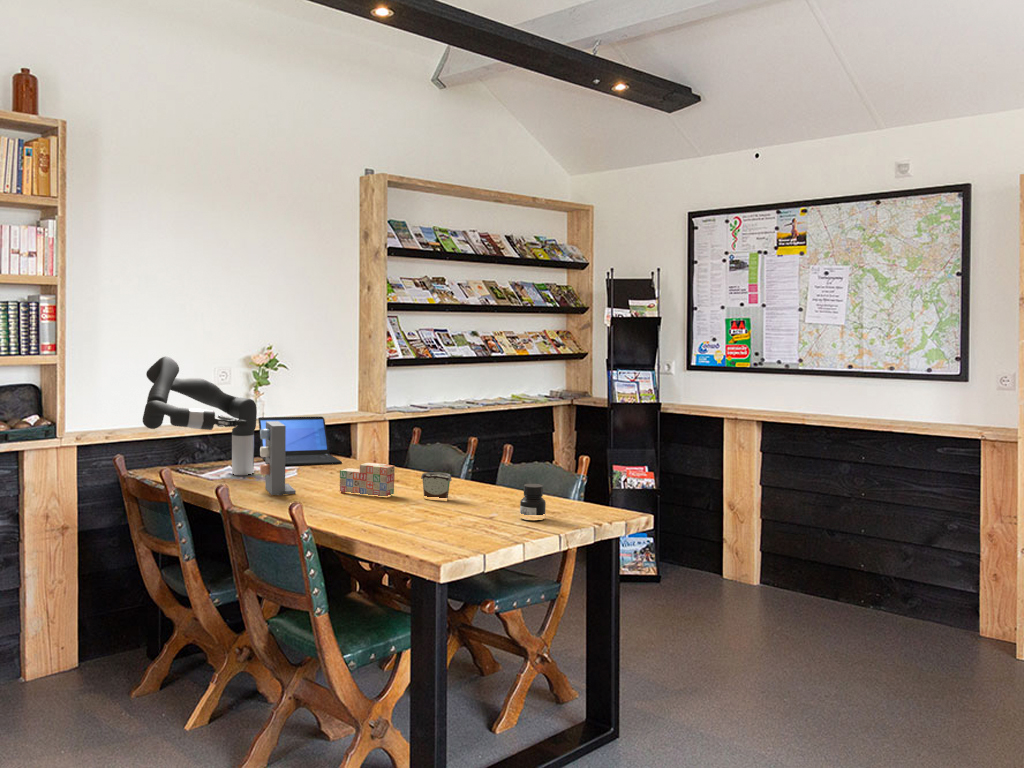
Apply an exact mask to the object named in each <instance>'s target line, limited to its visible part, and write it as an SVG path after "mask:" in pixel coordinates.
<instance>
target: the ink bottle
mask: <svg viewBox="0 0 1024 768" xmlns="http://www.w3.org/2000/svg"><path fill="white" fill-rule="evenodd" d="M523 496H524V497H522V499H520V502H519V503H520V504H519V514H520V513H521V514H524V515H543V514H545V515H546V508H547V507H546V506H547V505H546V500H545V499H544V497H543V496H544V485H543V484H540V483H539V484H538V483H525V484H524V485H523Z"/></svg>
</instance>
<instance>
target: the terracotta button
mask: <svg viewBox="0 0 1024 768" xmlns="http://www.w3.org/2000/svg"><path fill="white" fill-rule="evenodd" d="M268 474H270V464H265V463H264V464H260V465H259V475H261V476H262V475H263V476H265V475H268Z"/></svg>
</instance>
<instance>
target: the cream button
mask: <svg viewBox="0 0 1024 768" xmlns="http://www.w3.org/2000/svg"><path fill="white" fill-rule="evenodd" d="M259 455H260V457H261V458H263V457H270V447H261V446H260V448H259Z"/></svg>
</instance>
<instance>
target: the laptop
mask: <svg viewBox="0 0 1024 768" xmlns="http://www.w3.org/2000/svg"><path fill="white" fill-rule="evenodd" d="M266 421H279V422H280V423H282V424H284V425H285V426H286V442H285V465H293V466H292V467H299V466H301V467H302V466H321V465H322V466H323V465H325V466H326V465H341V464H342V461H341V460H340V459H338V458H336V457H335V456H333V455H331V454H330V448H329V441H328V433H327V428H326V419H325V418H324V417H323V416H273V417H272V416H270V417H269V416H268V417H266V416H265V417H260V416H259V417H258V430H259V431H260V430H261V429H266ZM259 440H260V447H266V439H261V438H260V437H259ZM262 459H263V460H264V461H265V462H266V457H262Z"/></svg>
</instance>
